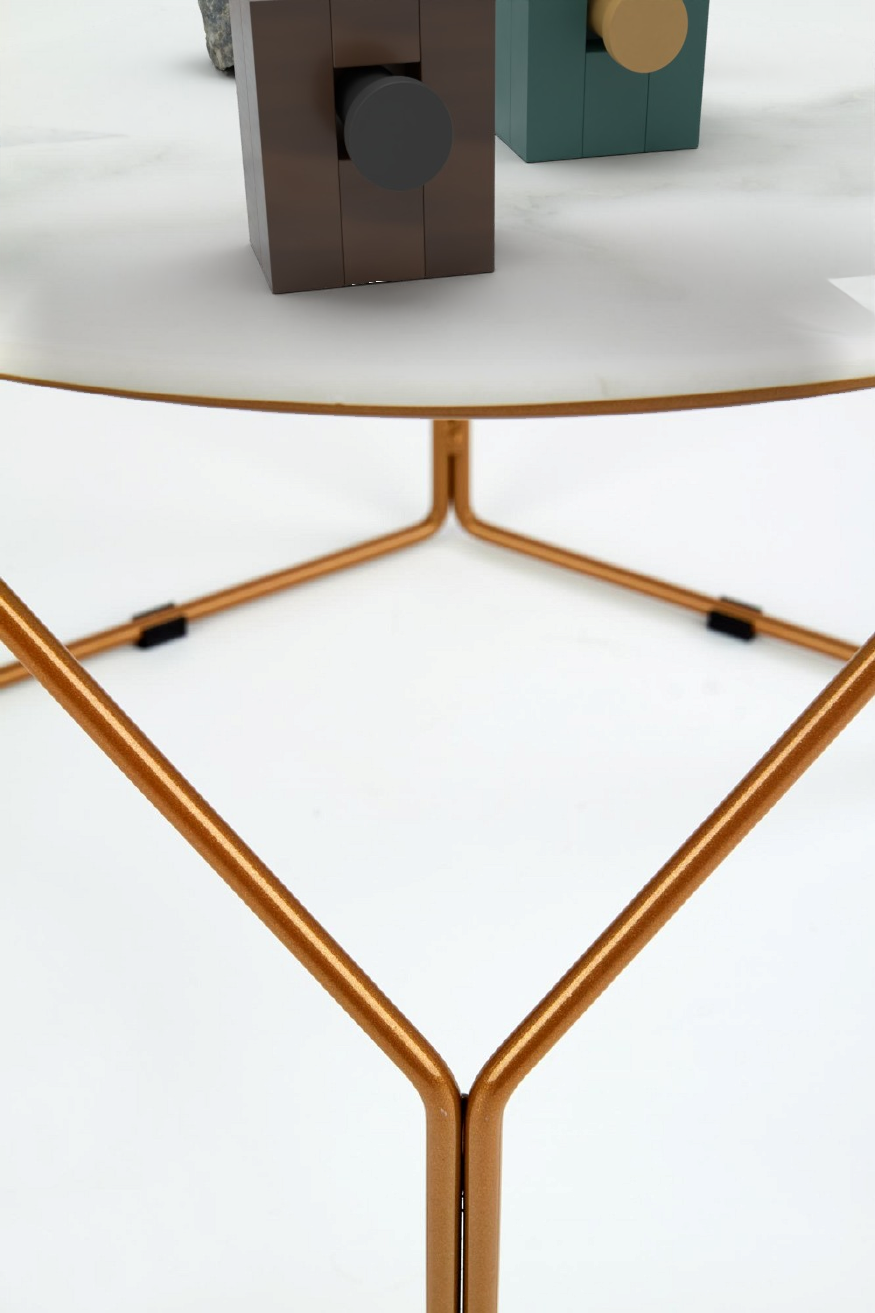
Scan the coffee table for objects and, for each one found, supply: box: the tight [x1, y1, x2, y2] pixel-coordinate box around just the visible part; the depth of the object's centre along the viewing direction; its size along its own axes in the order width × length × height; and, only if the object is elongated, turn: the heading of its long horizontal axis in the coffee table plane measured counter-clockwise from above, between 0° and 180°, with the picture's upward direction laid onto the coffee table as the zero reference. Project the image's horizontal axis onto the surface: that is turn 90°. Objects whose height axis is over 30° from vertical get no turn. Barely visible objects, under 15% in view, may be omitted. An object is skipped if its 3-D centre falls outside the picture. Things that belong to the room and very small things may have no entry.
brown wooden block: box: [229, 0, 496, 294], centre depth 72 cm, size 8×11×13 cm
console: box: [495, 0, 711, 163], centre depth 90 cm, size 8×11×13 cm
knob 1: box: [335, 65, 453, 191], centre depth 67 cm, size 7×5×5 cm, turn 14°
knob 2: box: [586, 0, 688, 73], centre depth 85 cm, size 7×5×5 cm, turn 14°
